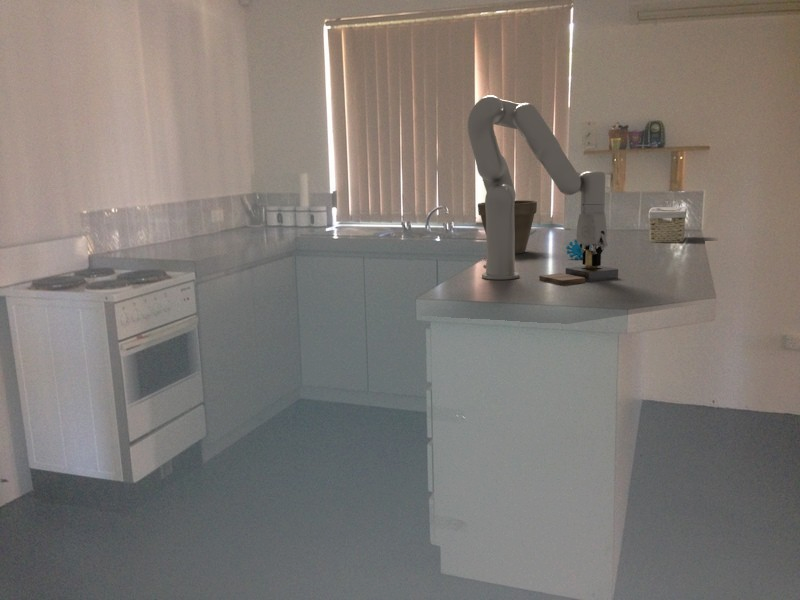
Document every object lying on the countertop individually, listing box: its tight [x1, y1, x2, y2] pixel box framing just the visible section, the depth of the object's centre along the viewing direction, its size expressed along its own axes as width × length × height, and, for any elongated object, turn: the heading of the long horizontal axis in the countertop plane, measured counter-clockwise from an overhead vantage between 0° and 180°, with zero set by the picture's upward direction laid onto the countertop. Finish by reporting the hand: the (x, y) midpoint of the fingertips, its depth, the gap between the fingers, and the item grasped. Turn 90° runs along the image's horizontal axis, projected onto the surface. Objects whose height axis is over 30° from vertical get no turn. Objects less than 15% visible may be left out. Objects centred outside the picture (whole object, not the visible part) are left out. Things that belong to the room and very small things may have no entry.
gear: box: [566, 238, 593, 261], centre depth 284 cm, size 11×6×10 cm
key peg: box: [584, 250, 598, 270], centre depth 237 cm, size 4×4×9 cm
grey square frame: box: [565, 265, 619, 282], centre depth 238 cm, size 12×12×3 cm
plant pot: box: [477, 199, 538, 255], centre depth 307 cm, size 25×25×22 cm
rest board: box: [538, 272, 586, 286], centre depth 232 cm, size 12×9×2 cm
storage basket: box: [648, 206, 688, 244], centre depth 334 cm, size 24×16×15 cm
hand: (591, 264), depth 237 cm, fingers closed on key peg, 4 cm apart
